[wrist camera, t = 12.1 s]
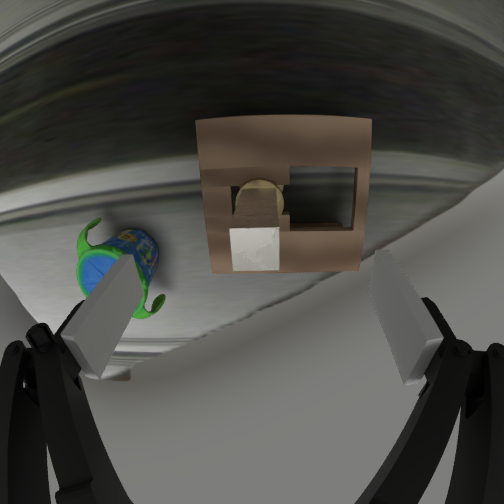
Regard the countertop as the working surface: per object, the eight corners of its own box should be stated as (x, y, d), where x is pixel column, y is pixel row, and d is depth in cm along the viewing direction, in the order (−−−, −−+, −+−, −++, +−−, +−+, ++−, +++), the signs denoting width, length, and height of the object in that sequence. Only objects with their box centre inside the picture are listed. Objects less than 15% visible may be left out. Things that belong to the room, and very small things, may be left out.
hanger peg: (239, 162, 32) (211, 213, 17) (282, 161, 32) (296, 211, 17) (241, 203, 34) (219, 283, 19) (283, 202, 34) (294, 282, 19)
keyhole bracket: (215, 117, 32) (195, 120, 23) (344, 115, 31) (371, 119, 22) (224, 234, 40) (212, 273, 31) (340, 232, 38) (358, 270, 30)
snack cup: (89, 223, 40) (52, 253, 31) (134, 190, 37) (97, 217, 28) (142, 297, 46) (119, 338, 37) (190, 276, 43) (173, 320, 34)
